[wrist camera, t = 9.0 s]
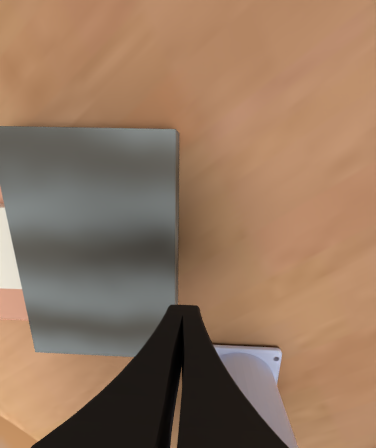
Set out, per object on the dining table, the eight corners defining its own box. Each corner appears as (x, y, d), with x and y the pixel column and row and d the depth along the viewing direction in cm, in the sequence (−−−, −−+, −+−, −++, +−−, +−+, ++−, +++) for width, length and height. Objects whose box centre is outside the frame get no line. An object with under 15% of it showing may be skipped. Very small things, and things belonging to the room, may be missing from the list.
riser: (177, 332, 22) (174, 359, 19) (55, 327, 23) (35, 352, 20) (179, 133, 17) (175, 129, 14) (22, 130, 18) (-13, 125, 15)
